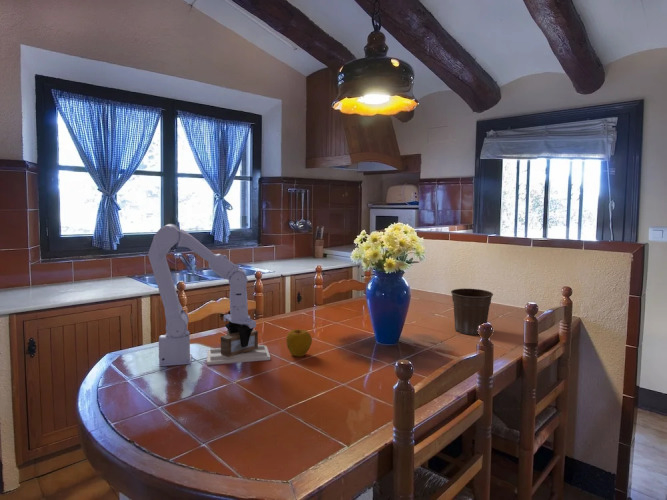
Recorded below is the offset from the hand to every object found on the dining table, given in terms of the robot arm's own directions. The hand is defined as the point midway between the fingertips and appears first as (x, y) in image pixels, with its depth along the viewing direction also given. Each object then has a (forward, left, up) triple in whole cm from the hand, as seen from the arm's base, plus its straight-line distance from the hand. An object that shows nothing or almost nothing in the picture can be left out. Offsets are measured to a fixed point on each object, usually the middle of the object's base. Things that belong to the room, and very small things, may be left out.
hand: (240, 345), depth 148 cm
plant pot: (+92, +9, -4) cm, 93 cm away
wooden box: (0, 0, -2) cm, 2 cm away
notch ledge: (-1, 0, -4) cm, 4 cm away
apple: (+19, -3, -4) cm, 20 cm away
